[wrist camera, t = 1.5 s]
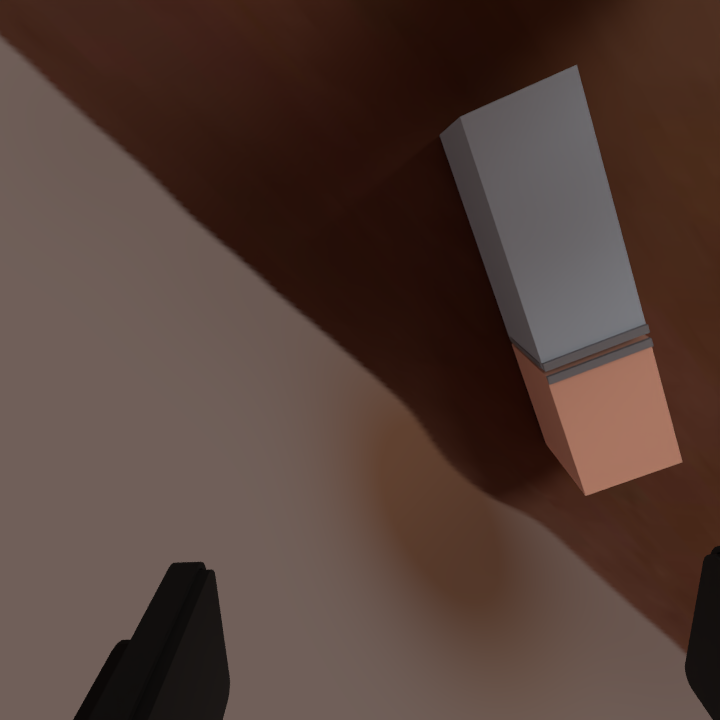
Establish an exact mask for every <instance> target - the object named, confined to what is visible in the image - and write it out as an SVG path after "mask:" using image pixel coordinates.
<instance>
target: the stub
mask: <svg viewBox="0 0 720 720" xmlns="http://www.w3.org/2000/svg"><path fill="white" fill-rule="evenodd" d="M652 346H653V342H652V339H651V338H650V337H648V336H645V335H642V336H639V337H637V338H634V339H631V340H629V341H626V342H623V343H621V344H618V345H616V346H613V347H610V348H608V349H605V350H602V351H600V352H597V353H594V354H592V355H589V356H586V357H584V358H581V359H579V360H576V361H573V362H571V363H568V364H565V365H563V366H560V367H557V368H555V369H552V370H550V371H547V372H545V371H544V370H543V369H542V368H539V367H538V366H537V365H536V364H535V363H534V362H533V361H532V360H531V359H529V358H528V357H527V356H526V355H525V354H524V353H523V352H522V351H521V350H520V349H519V348H518V347H516V346H515V345H514V344H513V343H512V347H513V350H514V353H515V356H516V359H517V361H518V364H519V367H520V370H521V373H522V376H523V379H524V382H525V385H526V388H527V390H528V393H529V396H530V399H531V402H532V405H533V408H534V411H535V414H536V416H537V419H538V422H539V425H540V428H541V431H542V434H543V437H544V440H545V443H546V445H547V446H548V447H549V449H550V450H551V451H552V453H553V454H554V455H555V456H556V458H557V459H558V460H559V462H560V463H561V464H562V466H563V467H564V468H565V469H566V471H567V472H568V473H569V475H570V476H571V477H572V479H573V480H574V481H575V483H576V484H577V485H578V486H579V488H580V489H581V490H582V492H583V493H584V494H585V496H586V495H589V494H592V493H595V492H598V491H601V490H604V489H606V488H609V487H612V486H615V485H618V484H621V483H624V482H627V481H629V480H632V479H635V478H638V477H641V476H644V475H647V474H650V473H652V472H655V471H658V470H661V469H664V468H667V467H670V466H673V465H675V464H678V463H681V462H682V459H681V455H680V451H679V447H678V444H677V440H676V436H675V432H674V429H673V425H672V421H671V417H670V414H669V410H668V406H667V402H666V399H665V395H664V391H663V387H662V384H661V380H660V376H659V372H658V369H657V365H656V361H655V357H654V354H653V350H652Z"/></svg>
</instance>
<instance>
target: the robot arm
mask: <svg viewBox="0 0 720 720" xmlns="http://www.w3.org/2000/svg"><path fill="white" fill-rule="evenodd" d="M685 672H686V676H687V679H688V682H689V685H690V686H691V688H692V690H693V691H694V693H695V694H696V695H697V697H698V699H699V700H700V701H701V703H702V704H703V706H704V707H705V709H706V710H707V712H708V713H709V715H710V716H711V718H712V719H713V720H720V546H717V547H715V548H714V549H713V550H712V552H711V554H710V555H707V556H706V557H705V558H704V561H703V566H702V572H701V578H700V583H699V589H698V595H697V600H696V606H695V612H694V617H693V623H692V629H691V634H690V640H689V645H688V651H687V657H686V662H685ZM229 688H230V678H229V670H228V662H227V655H226V649H225V642H224V635H223V627H222V620H221V614H220V607H219V599H218V591H217V584H216V578H215V572H214V571H213V570H206V568H205V565H204V563H203V562H187V563H186V562H183V563H173V564H171V566H170V567H169V569H168V571H167V572H166V574H165V576H164V578H163V580H162V582H161V584H160V585H159V587H158V589H157V591H156V593H155V595H154V597H153V599H152V601H151V602H150V604H149V606H148V608H147V610H146V612H145V614H144V616H143V617H142V619H141V621H140V623H139V625H138V627H137V629H136V631H135V633H134V635H133V636H132V638H131V640H121V641H120V642H119V643H117V645H116V646H115V647H114V649H113V650H112V651H111V653H110V655H109V657H108V659H107V661H106V663H105V664H104V666H103V667H102V669H101V671H100V673H99V675H98V677H97V678H96V680H95V682H94V684H93V685H92V687H91V689H90V691H89V692H88V694H87V696H86V698H85V700H84V701H83V703H82V705H81V707H80V709H79V710H78V712H77V714H76V716H75V717H74V719H73V720H223V716H224V713H225V709H226V705H227V701H228V697H229Z"/></svg>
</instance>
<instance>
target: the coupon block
mask: <svg viewBox="0 0 720 720" xmlns="http://www.w3.org/2000/svg"><path fill="white" fill-rule="evenodd" d="M439 136H440V138H441V141H442V144H443V147H444V150H445V153H446V156H447V159H448V162H449V164H450V167H451V170H452V173H453V176H454V179H455V182H456V185H457V188H458V191H459V193H460V196H461V199H462V202H463V205H464V208H465V211H466V214H467V217H468V220H469V222H470V225H471V228H472V231H473V234H474V237H475V240H476V243H477V246H478V248H479V251H480V254H481V257H482V260H483V263H484V266H485V269H486V272H487V275H488V277H489V280H490V283H491V286H492V289H493V292H494V295H495V298H496V301H497V304H498V306H499V309H500V312H501V315H502V318H503V321H504V324H505V327H506V330H507V332H508V335H509V338H510V340H511V342H512V343H513V344H514V345H515V346H516V347H518V348H519V349H520V350H521V351H522V352H523V353H524V354H525V355H526V356H527V357H528V358H529V359H531V360H532V361H533V362H534V363H535V364H536V365H537V366H538V367H539V368H542V369H543V370H544V371H545V372H547V371H550V370H552V369H555V368H557V367H560V366H563V365H565V364H568V363H571V362H573V361H576V360H579V359H581V358H584V357H586V356H589V355H592V354H594V353H597V352H600V351H602V350H605V349H608V348H610V347H613V346H616V345H618V344H621V343H623V342H626V341H629V340H631V339H634V338H637V337H639V336H642V335H645V334H647V333H650V331H649V327H648V325H647V324H646V323H645V320H644V316H643V312H642V308H641V305H640V301H639V297H638V293H637V290H636V286H635V282H634V278H633V275H632V271H631V267H630V263H629V260H628V256H627V252H626V248H625V245H624V241H623V237H622V233H621V230H620V226H619V222H618V218H617V214H616V211H615V207H614V203H613V199H612V196H611V192H610V188H609V184H608V181H607V177H606V173H605V169H604V166H603V162H602V158H601V154H600V151H599V147H598V143H597V139H596V136H595V132H594V128H593V124H592V121H591V117H590V113H589V109H588V106H587V102H586V98H585V94H584V90H583V87H582V83H581V79H580V75H579V72H578V68H577V65H575V66H573V67H571V68H568V69H566V70H564V71H562V72H559V73H557V74H555V75H553V76H550V77H548V78H546V79H544V80H541V81H539V82H537V83H535V84H532V85H530V86H528V87H526V88H523V89H521V90H519V91H517V92H515V93H512V94H510V95H508V96H506V97H503V98H501V99H499V100H497V101H494V102H492V103H490V104H488V105H485V106H483V107H481V108H479V109H476V110H474V111H472V112H470V113H467V114H465V115H463V116H461V117H459V118H458V119H457V120H456V121H455V122H454V123H452V124H451V125H450V126H449V127H448V128H447V129H446V130H445V131H443V132H442V133H441V134H440V135H439Z"/></svg>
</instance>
